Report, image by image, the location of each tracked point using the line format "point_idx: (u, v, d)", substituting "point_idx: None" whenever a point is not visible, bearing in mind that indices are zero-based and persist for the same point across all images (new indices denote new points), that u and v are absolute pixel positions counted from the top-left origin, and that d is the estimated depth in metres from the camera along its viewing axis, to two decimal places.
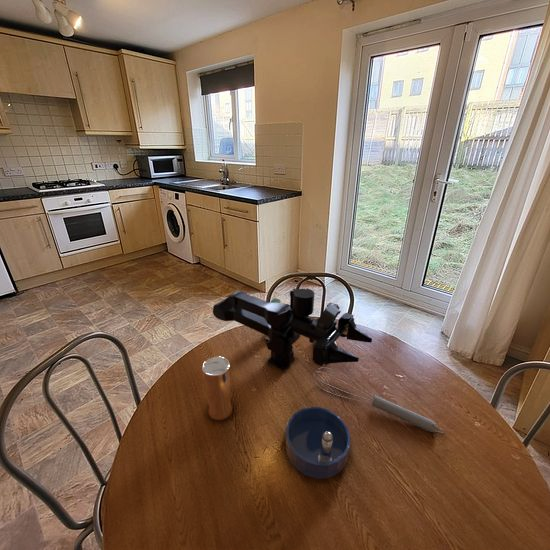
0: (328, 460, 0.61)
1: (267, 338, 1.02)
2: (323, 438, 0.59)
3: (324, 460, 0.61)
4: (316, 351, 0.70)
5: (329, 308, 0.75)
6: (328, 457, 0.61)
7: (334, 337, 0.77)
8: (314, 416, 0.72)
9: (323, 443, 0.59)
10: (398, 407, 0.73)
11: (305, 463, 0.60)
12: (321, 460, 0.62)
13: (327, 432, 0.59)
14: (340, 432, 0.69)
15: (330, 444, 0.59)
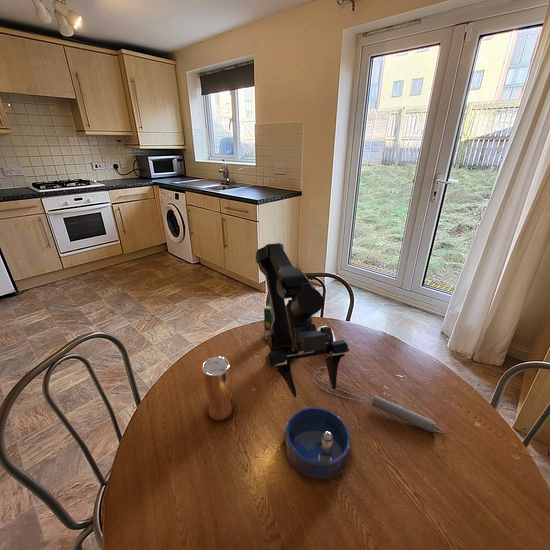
0: (328, 460, 0.61)
1: None
2: (323, 438, 0.59)
3: (324, 460, 0.61)
4: (268, 358, 0.64)
5: (314, 339, 0.60)
6: (328, 457, 0.61)
7: (305, 355, 0.67)
8: (314, 416, 0.72)
9: (323, 443, 0.59)
10: (398, 407, 0.73)
11: (305, 463, 0.60)
12: (321, 460, 0.62)
13: (327, 432, 0.59)
14: (340, 432, 0.69)
15: (330, 444, 0.59)
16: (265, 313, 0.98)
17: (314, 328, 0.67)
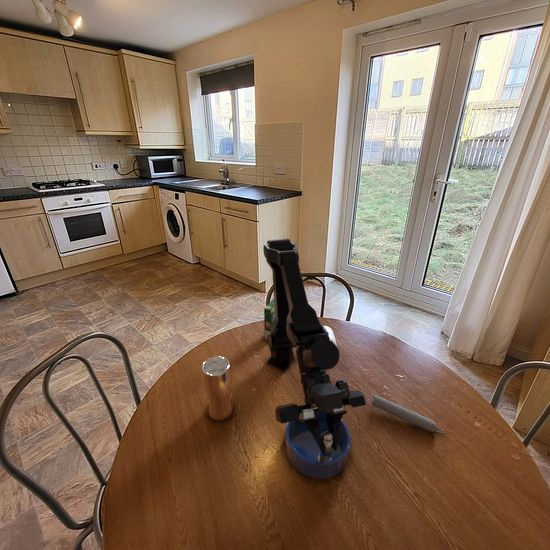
0: (328, 460, 0.61)
1: None
2: (323, 438, 0.59)
3: (324, 460, 0.61)
4: (278, 414, 0.59)
5: (330, 397, 0.55)
6: (328, 457, 0.61)
7: (318, 408, 0.61)
8: None
9: None
10: (398, 407, 0.73)
11: (305, 463, 0.60)
12: (321, 460, 0.62)
13: (327, 432, 0.59)
14: (340, 432, 0.69)
15: (330, 444, 0.59)
16: (265, 313, 0.98)
17: (328, 379, 0.61)
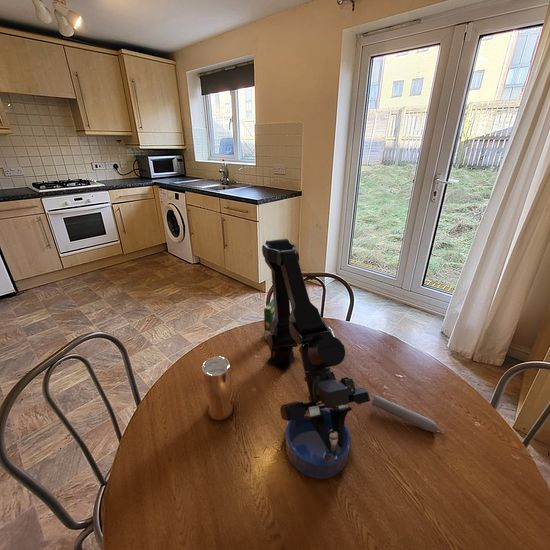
0: (334, 457, 0.62)
1: None
2: (329, 437, 0.59)
3: (331, 458, 0.61)
4: (284, 412, 0.59)
5: (336, 393, 0.56)
6: (334, 454, 0.61)
7: (323, 406, 0.62)
8: None
9: (330, 442, 0.60)
10: (398, 407, 0.73)
11: (305, 463, 0.60)
12: (327, 459, 0.62)
13: (332, 430, 0.60)
14: None
15: (336, 441, 0.60)
16: (265, 313, 0.98)
17: (333, 377, 0.62)
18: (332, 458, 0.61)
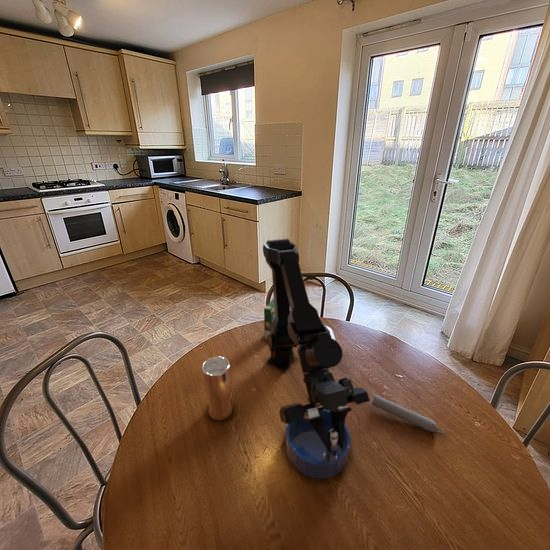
0: (335, 457, 0.62)
1: None
2: (330, 437, 0.59)
3: (331, 458, 0.61)
4: (283, 414, 0.59)
5: (335, 395, 0.55)
6: (335, 454, 0.61)
7: (322, 407, 0.61)
8: None
9: (330, 442, 0.60)
10: (398, 407, 0.73)
11: (305, 463, 0.60)
12: (328, 459, 0.62)
13: (332, 430, 0.60)
14: None
15: (337, 441, 0.60)
16: (265, 313, 0.98)
17: (331, 378, 0.61)
18: (332, 458, 0.61)
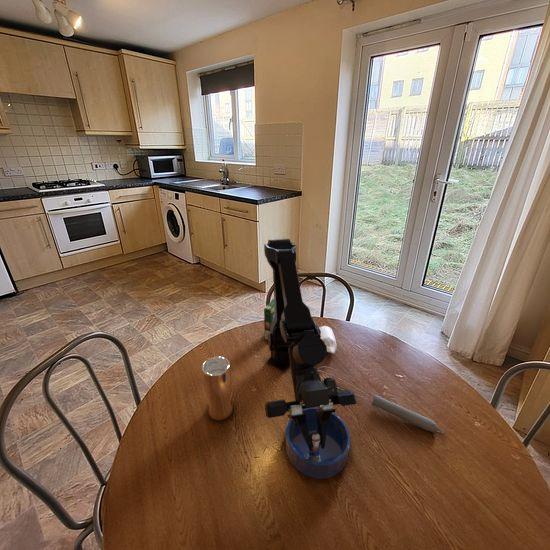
0: (313, 460, 0.61)
1: None
2: (310, 435, 0.60)
3: (310, 458, 0.61)
4: (266, 409, 0.59)
5: (316, 393, 0.55)
6: (313, 457, 0.61)
7: None
8: (314, 416, 0.72)
9: None
10: (398, 407, 0.73)
11: (305, 463, 0.60)
12: (308, 457, 0.62)
13: (316, 432, 0.59)
14: (340, 432, 0.69)
15: (315, 444, 0.59)
16: (265, 313, 0.98)
17: (318, 377, 0.61)
18: (311, 459, 0.61)
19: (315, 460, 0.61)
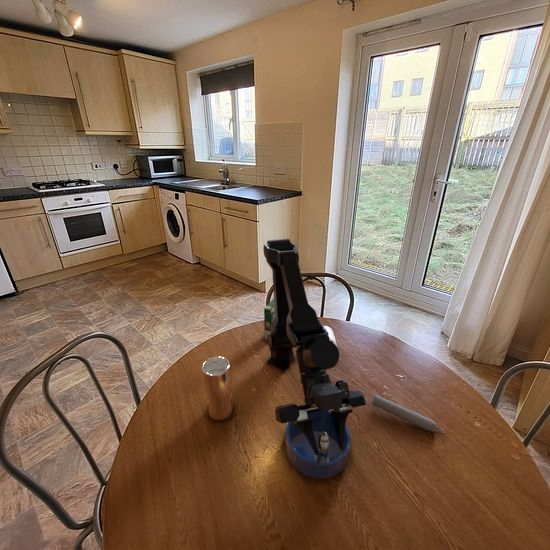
0: (324, 461, 0.61)
1: None
2: (319, 438, 0.59)
3: (320, 460, 0.61)
4: (278, 414, 0.59)
5: (330, 397, 0.55)
6: (324, 458, 0.60)
7: (318, 408, 0.61)
8: (314, 416, 0.72)
9: (319, 443, 0.59)
10: (398, 406, 0.73)
11: (305, 463, 0.60)
12: (317, 460, 0.62)
13: (324, 433, 0.59)
14: None
15: (326, 445, 0.59)
16: (265, 313, 0.98)
17: (328, 379, 0.61)
18: (321, 461, 0.61)
19: (325, 460, 0.61)
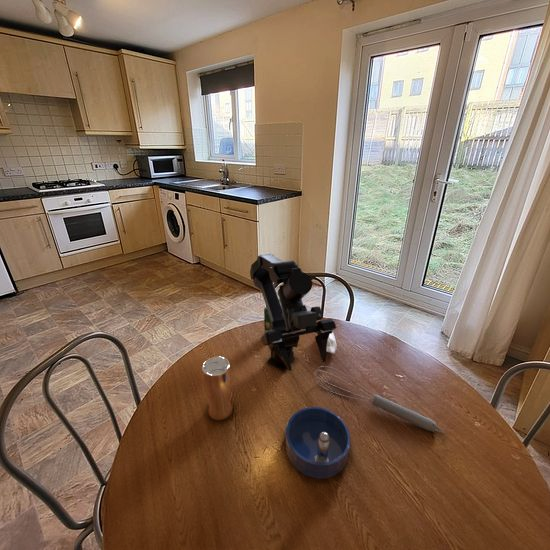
0: (324, 461, 0.61)
1: None
2: (319, 438, 0.59)
3: (320, 460, 0.61)
4: (264, 337, 0.71)
5: (306, 317, 0.67)
6: (324, 458, 0.60)
7: (297, 333, 0.74)
8: (314, 416, 0.72)
9: (319, 443, 0.59)
10: (398, 406, 0.74)
11: (305, 463, 0.60)
12: (317, 460, 0.62)
13: (324, 433, 0.59)
14: (340, 432, 0.69)
15: (326, 445, 0.59)
16: (265, 313, 0.98)
17: (305, 309, 0.74)
18: (321, 461, 0.61)
19: (325, 460, 0.61)
